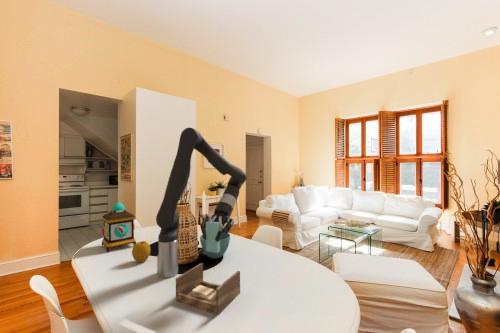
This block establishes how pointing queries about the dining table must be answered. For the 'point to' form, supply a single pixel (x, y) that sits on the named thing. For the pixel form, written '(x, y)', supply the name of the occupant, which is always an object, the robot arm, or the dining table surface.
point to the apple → (141, 251)
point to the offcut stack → (204, 293)
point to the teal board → (212, 236)
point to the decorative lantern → (118, 227)
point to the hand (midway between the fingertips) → (210, 239)
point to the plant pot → (223, 246)
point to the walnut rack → (223, 291)
